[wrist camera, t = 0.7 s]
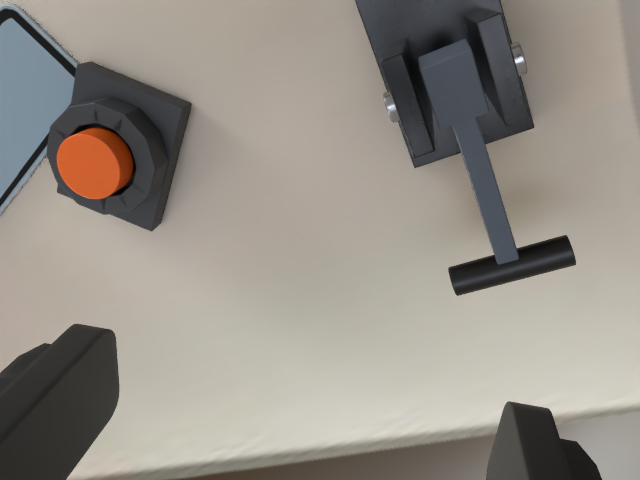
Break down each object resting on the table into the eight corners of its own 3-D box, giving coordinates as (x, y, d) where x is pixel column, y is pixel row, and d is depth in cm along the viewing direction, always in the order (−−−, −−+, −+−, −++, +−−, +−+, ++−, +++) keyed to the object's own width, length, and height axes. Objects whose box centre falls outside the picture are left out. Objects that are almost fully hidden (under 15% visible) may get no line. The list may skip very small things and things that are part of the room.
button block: (89, 61, 35) (56, 68, 32) (192, 103, 35) (169, 114, 32) (68, 185, 39) (37, 202, 36) (161, 223, 39) (138, 244, 36)
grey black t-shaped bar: (567, 250, 29) (580, 275, 27) (454, 280, 31) (459, 306, 29) (509, 20, 24) (519, 29, 22) (378, 72, 26) (376, 86, 24)
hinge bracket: (531, 123, 32) (572, 173, 23) (414, 162, 34) (412, 222, 25) (481, -57, 29) (508, -77, 20) (357, -1, 31) (331, 3, 22)
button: (78, 116, 33) (61, 123, 32) (139, 142, 33) (125, 149, 32) (68, 175, 35) (52, 184, 33) (126, 199, 35) (113, 209, 33)
